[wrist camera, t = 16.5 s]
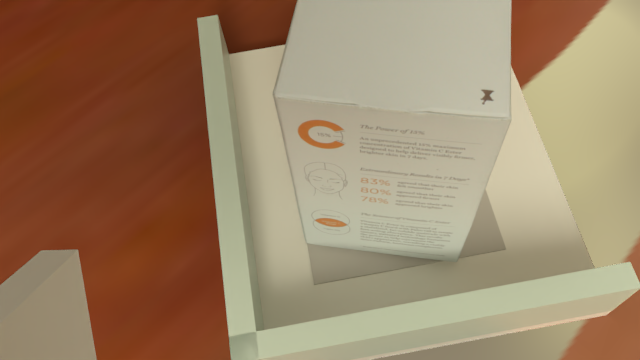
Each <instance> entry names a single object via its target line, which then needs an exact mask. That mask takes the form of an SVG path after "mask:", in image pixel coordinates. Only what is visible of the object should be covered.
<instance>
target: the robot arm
mask: <svg viewBox="0 0 640 360" xmlns="http://www.w3.org/2000/svg"><path fill="white" fill-rule="evenodd" d="M0 360H97V359H96V353H95V347H94V342H93V336H92V330H91V324H90V318H89V312H88V306H87V300H86V295H85V289H84V283H83V277H82V271H81V265H80V259H79V254H78V250H44V251H40V252H39V253H38V254H37V255H35V256H34V257H33V258H32V259H31V260H30V261H28V262H27V263H26V264H25V265H24V266H22V267H21V268H20V269H19V270H18V271H17V272H15V273H14V274H13V275H12V276H11V277H9V278H8V279H7V280H6V281H5V282H3V283H2V284H1V285H0Z"/></svg>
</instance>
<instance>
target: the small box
mask: <svg viewBox="0 0 640 360" xmlns="http://www.w3.org/2000/svg"><path fill="white" fill-rule="evenodd" d="M272 95H273V98H274V102H275V106H276V110H277V115H278V119H279V123H280V127H281V132H282V137H283V142H284V146H285V151H286V156H287V160H288V165H289V169H290V174H291V178H292V183H293V188H294V193H295V198H296V202H297V208H298V212H299V216H300V221H301V225H302V230H303V234H304V238H305V241H306V243H308V244H314V245H322V246H330V247H337V248H345V249H353V250H361V251H369V252H376V253H384V254H392V255H400V256H408V257H417V258H425V259H433V260H442V261H450V262H457V261H458V259H459V256H460V254H461V251H462V249H463V246H464V243H465V241H466V239H467V236H468V234H469V232H470V229H471V227H472V224H473V221H474V219H475V216H476V213H477V211H478V208H479V205H480V202H481V199H482V196H483V194H484V191H485V188H486V186H487V183H488V180H489V178H490V175H491V172H492V170H493V167H494V165H495V162H496V160H497V157H498V154H499V152H500V149H501V146H502V144H503V141H504V139H505V136H506V133H507V130H508V128H509V125H510V123H511V120H512V115H511V0H297V3H296V6H295V10H294V14H293V18H292V22H291V25H290V29H289V33H288V37H287V41H286V45H285V48H284V52H283V56H282V60H281V64H280V67H279V71H278V75H277V79H276V82H275V86H274V90H273V94H272Z"/></svg>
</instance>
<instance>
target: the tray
mask: <svg viewBox="0 0 640 360" xmlns="http://www.w3.org/2000/svg"><path fill="white" fill-rule="evenodd" d="M197 21H198V31H199V42H200V52H201V62H202V72H203V82H204V92H205V102H206V112H207V122H208V132H209V142H210V152H211V162H212V172H213V182H214V192H215V202H216V212H217V222H218V233H219V243H220V253H221V263H222V273H223V283H224V293H225V303H226V313H227V323H228V333H229V343H230V353H231V360H371V359H376V358H382V357H387V356H393V355H398V354H403V353H409V352H413V351H419V350H424V349H430V348H435V347H440V346H446V345H451V344H456V343H462V342H467V341H472V340H477V339H483V338H488V337H493V336H499V335H504V334H509V333H514V332H520V331H525V330H530V329H536V328H541V327H546V326H551V325H557V324H562V323H567V322H573V321H577V320H583V319H588V318H594V317H599V316H604V315H607V314H608V313H610V312H611V311H612V310H614V309H615V308H616V307H617V306H619V305H620V304H621V303H622V302H624V301H625V300H626V299H627V298H629V297H630V296H631V295H633V294H634V293H635V292H636V291H638V290H639V289H640V283H639V280H638V278H637V276H636V274H635V271H634V269H633V267H632V265H631V262H626V263H621V264H616V265H610V266H605V267H599V268H594V265H593V263H592V260H591V258H590V256H589V253H588V251H587V248H586V246H585V243H584V241H583V239H582V236H581V234H580V231H579V229H578V227H577V224H576V222H575V219H574V217H573V214H572V212H571V210H570V207H569V205H568V203H567V200H566V197H565V195H564V193H563V191H562V188H561V185H560V183H559V181H558V178H557V176H556V173H555V171H554V168H553V166H552V164H551V161H550V159H549V156H548V154H547V152H546V149H545V147H544V144H543V142H542V140H541V137H540V135H539V132H538V130H537V127H536V125H535V123H534V120H533V118H532V115H531V113H530V110H529V108H528V106H527V103H526V101H525V98H524V96H523V94H522V91H521V89H520V86H519V84H518V81H517V79H516V77H515V74H514V72H513V69H512V67H511V115H512V120H511V123H510V125H509V128H508V130H507V133H506V136H505V139H504V141H503V144H502V146H501V149H500V152H499V154H498V157H497V160H496V162H495V165H494V167H493V170H492V172H491V175H490V178H489V180H488V183H487V186H486V188H485V191H484V194H483V196H482V199H481V202H480V205H479V208H478V211H477V213H476V216H475V219H474V221H473V224H472V227H471V229H470V232H469V234H468V236H467V239H466V241H465V243H464V246H463V249H462V251H461V254H460V256H459V259H458V261H457V262H450V261H442V260H433V259H425V258H417V257H408V256H400V255H392V254H384V253H376V252H369V251H361V250H353V249H345V248H337V247H330V246H322V245H314V244H308V243H306V241H305V238H304V234H303V230H302V225H301V221H300V216H299V212H298V208H297V202H296V198H295V193H294V188H293V183H292V178H291V174H290V169H289V165H288V160H287V156H286V151H285V146H284V142H283V137H282V132H281V127H280V123H279V119H278V115H277V110H276V106H275V102H274V98H273V95H272V94H273V90H274V86H275V82H276V79H277V75H278V71H279V67H280V64H281V60H282V56H283V52H284V48H285V45H280V46H274V47H268V48H263V49H257V50H251V51H245V52H239V53H234V54H229V53H228V49H227V46H226V42H225V39H224V35H223V32H222V28H221V25H220V21H219V18H218V15H214V16H208V17H202V18H197Z"/></svg>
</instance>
